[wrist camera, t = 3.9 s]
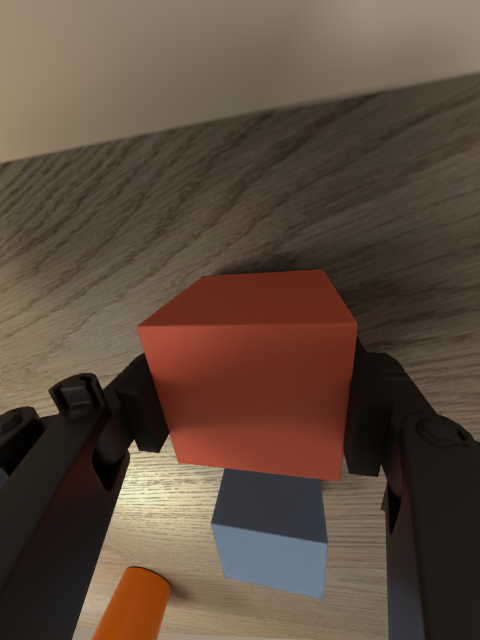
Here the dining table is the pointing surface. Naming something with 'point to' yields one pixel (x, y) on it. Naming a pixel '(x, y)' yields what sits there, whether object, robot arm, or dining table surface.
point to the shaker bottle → (135, 607)
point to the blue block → (272, 531)
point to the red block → (255, 372)
